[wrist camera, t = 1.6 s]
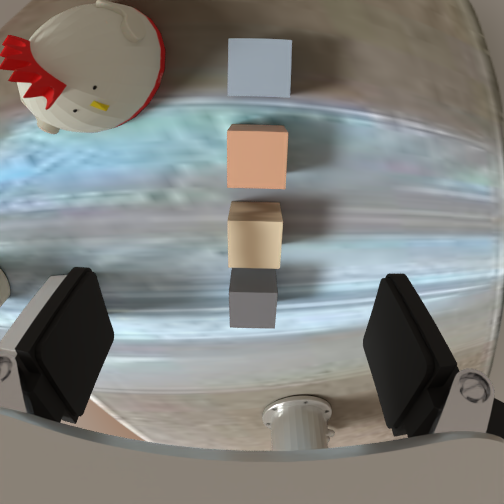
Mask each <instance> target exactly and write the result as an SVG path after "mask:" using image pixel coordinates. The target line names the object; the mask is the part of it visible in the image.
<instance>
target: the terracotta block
mask: <svg viewBox="0 0 504 504" xmlns="http://www.w3.org/2000/svg"><path fill="white" fill-rule="evenodd" d="M287 148H288V131H287V130H286V129H285V127H284V126H282V125H251V124H232V125H231V126H230V128H229V129H228V131H227V188H267V189H285V185H286V167H287Z"/></svg>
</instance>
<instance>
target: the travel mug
mask: <svg viewBox="0 0 504 504" xmlns="http://www.w3.org/2000/svg"><path fill="white" fill-rule="evenodd" d="M9 295H10V286H9V283H8V280H7V278H6V276H5V274H4V273H3V271H2V270H1V269H0V307H1V306H2V304H3V303H4V302H5V301H6V300H7V298H8V297H9Z"/></svg>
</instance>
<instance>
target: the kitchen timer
mask: <svg viewBox="0 0 504 504" xmlns="http://www.w3.org/2000/svg"><path fill="white" fill-rule="evenodd" d="M2 45H3V46H5V47H4V49H3V51H2V52H1V54H0V56H2V57H5V59H4V61H3V62H2V64H1V65H0V69H3V70H13V71H14V72H13V74H12V75H11V77H10V78H9V80H8V81H10V82H17V84H18V88H19V92H20V99H21V101H22V102H23V104H24V105H25V106H26V107H27V108H28V109H29V110H30V111H31V112H32V113H33V114H34V116H35V117H36V119H37V125H38V127H39V128H40V129H41V130H43V131H45V132H47V133H51V134H57V133H58V132H59V130H60V129H63V130H67V131H72V132H86V133H95V132H99V131H103V130H107V129H112V128H115V127H118V126H120V125H122V124H124V123H125V122H127V121H129V120H131V119H132V118H134V117H136V116H137V115H138V114H139V113H140V112H141V111H142V110H143V109H144V108H145V107H146V106H147V105H148V104H149V103H150V101H151V99H152V98H153V96H154V94H155V93H156V91H157V89H158V88H159V85H160V82H161V79H162V76H163V73H164V69H165V47H164V43H163V40H162V36H161V33H160V31H159V30H158V28H157V27H156V25H155V24H154V23H153V21H152V20H151V19H150V18H149V17H147V16H146V15H144V14H143V13H141V12H140V11H138V10H137V9H135V8H133V7H130V6H126V5H122V4H118V3H114V2H109V1H105V0H97V2H96V3H94V4H86V5H81V6H77V7H73V8H71V9H69V10H66V11H64V12H62V13H60V14H58V15H56V16H54V17H52V18H51V19H50V20H48V21H47V22H46V23H45V24H43V25H42V26H41V27H40V28H39V29H38V30H37V31H36V32H35V33H34V34H33V35H32V37H31V38H30V39H29V41H28V40H25V39H23V38H20V37H16V36H12V35H8V36H7V38H6V39H5V41H4V42H3V44H2Z"/></svg>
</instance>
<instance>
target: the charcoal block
mask: <svg viewBox="0 0 504 504" xmlns="http://www.w3.org/2000/svg"><path fill="white" fill-rule="evenodd" d="M277 295H278V291H277V280H276V269H268V268H232V271H231V279H230V288H229V310H230V327H233V328H275V318H276V307H277Z"/></svg>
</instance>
